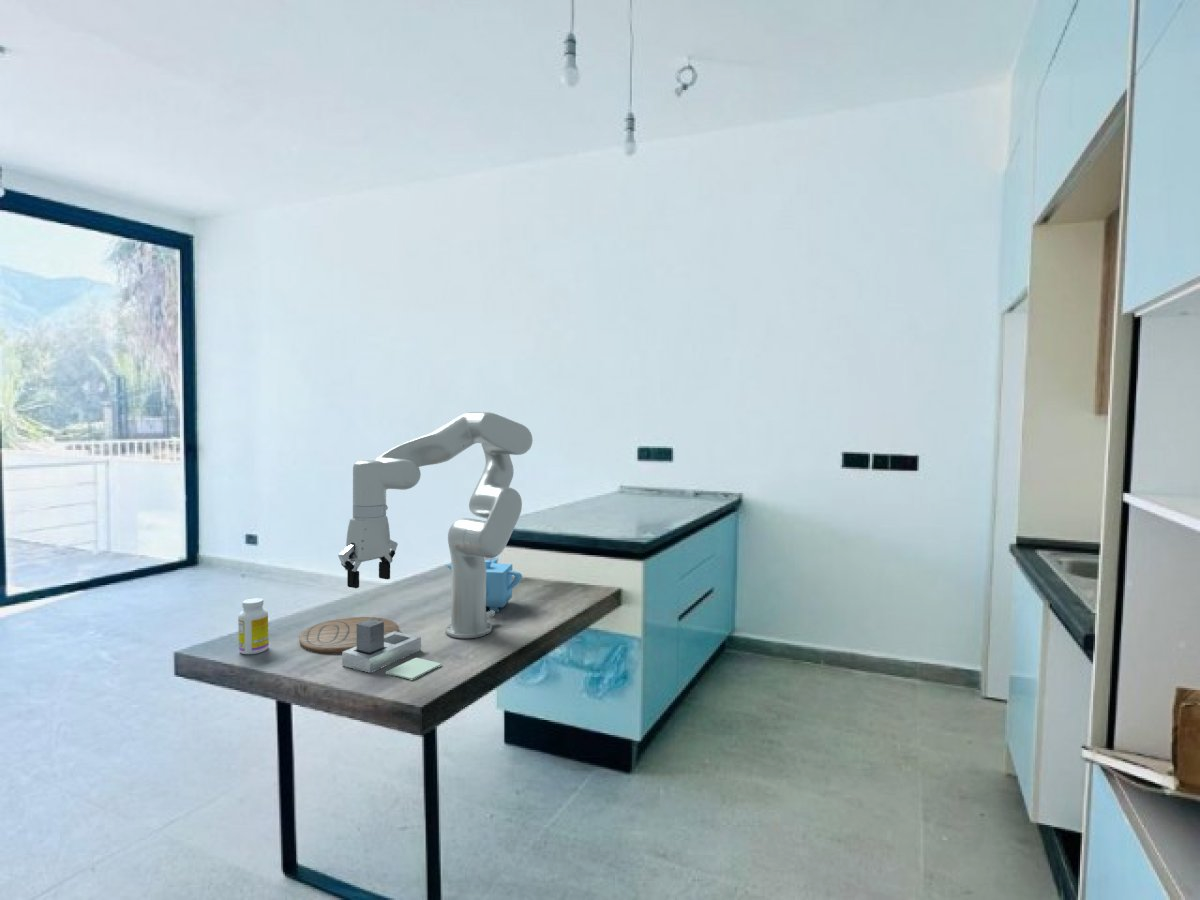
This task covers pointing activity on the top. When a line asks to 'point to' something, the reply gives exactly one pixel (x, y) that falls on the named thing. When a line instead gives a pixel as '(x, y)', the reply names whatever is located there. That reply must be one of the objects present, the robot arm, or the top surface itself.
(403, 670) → the sage pad
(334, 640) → the trivet
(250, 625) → the supplement bottle
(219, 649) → the top surface
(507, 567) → the teakettle
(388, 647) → the grey cinder block
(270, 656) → the top surface
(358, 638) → the zinc peg
